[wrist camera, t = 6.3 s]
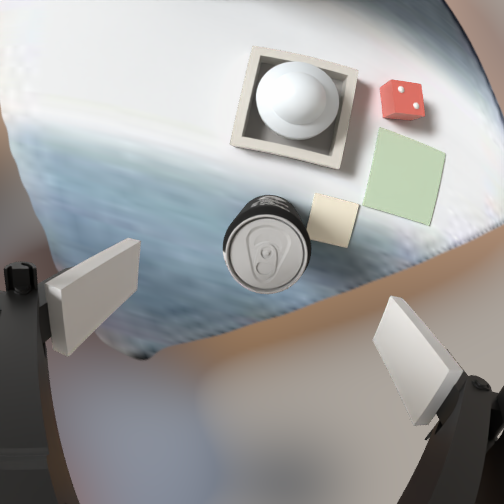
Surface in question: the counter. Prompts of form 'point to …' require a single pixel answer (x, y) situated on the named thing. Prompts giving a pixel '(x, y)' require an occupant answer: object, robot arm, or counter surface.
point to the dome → (297, 100)
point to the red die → (402, 100)
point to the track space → (331, 220)
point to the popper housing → (264, 140)
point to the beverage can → (267, 245)
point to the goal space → (404, 177)
